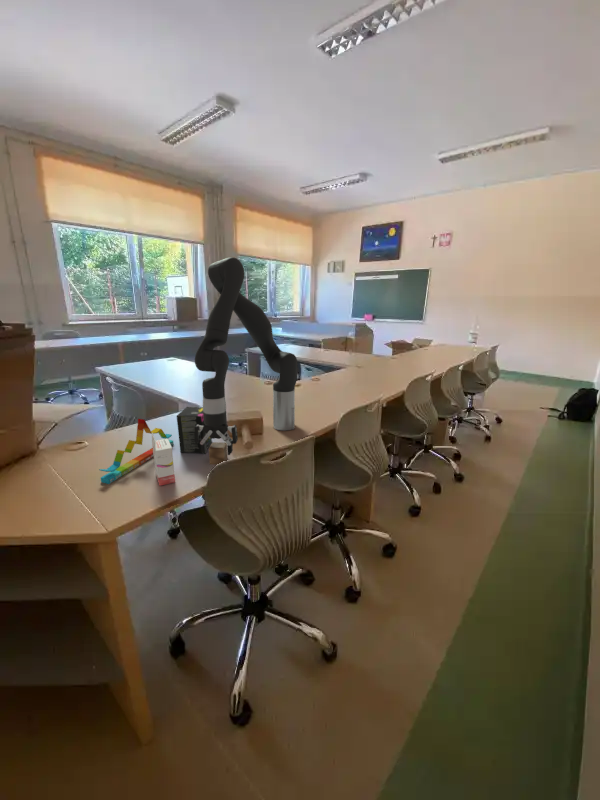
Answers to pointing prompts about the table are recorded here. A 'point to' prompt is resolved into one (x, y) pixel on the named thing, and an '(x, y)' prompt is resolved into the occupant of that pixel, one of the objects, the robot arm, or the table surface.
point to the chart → (118, 470)
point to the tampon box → (191, 429)
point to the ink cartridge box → (163, 461)
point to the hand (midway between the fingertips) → (217, 453)
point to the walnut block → (217, 452)
